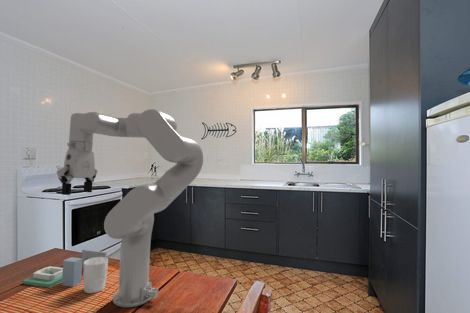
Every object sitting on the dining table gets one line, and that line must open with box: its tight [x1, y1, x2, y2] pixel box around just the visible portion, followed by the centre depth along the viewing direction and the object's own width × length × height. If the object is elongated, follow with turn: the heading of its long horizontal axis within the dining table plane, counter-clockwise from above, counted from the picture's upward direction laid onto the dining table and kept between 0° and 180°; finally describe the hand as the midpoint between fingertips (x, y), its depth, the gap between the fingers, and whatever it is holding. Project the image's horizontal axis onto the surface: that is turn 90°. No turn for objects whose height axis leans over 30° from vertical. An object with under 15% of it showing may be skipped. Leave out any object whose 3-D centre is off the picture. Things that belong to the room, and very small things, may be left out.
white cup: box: [83, 257, 109, 294], centre depth 91 cm, size 8×8×10 cm
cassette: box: [81, 249, 108, 267], centre depth 108 cm, size 12×2×8 cm, turn 76°
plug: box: [61, 256, 83, 288], centre depth 94 cm, size 6×4×9 cm, turn 78°
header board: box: [22, 265, 63, 288], centre depth 98 cm, size 12×12×3 cm
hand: (77, 193), depth 92 cm, fingers open, 9 cm apart
